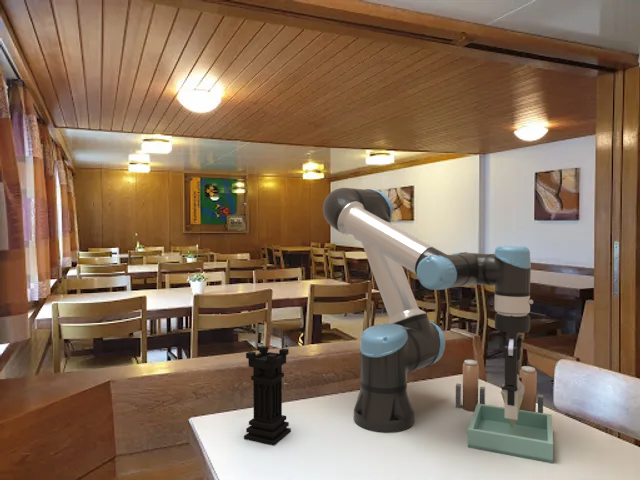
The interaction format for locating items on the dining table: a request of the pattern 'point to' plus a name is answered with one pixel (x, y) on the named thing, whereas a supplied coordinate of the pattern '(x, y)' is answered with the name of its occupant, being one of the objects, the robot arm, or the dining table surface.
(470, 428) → the tray
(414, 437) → the dining table surface
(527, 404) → the cylinder
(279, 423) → the chess piece
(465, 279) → the robot arm
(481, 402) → the clip row
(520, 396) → the ice cream cone
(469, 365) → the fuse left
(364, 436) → the dining table surface
